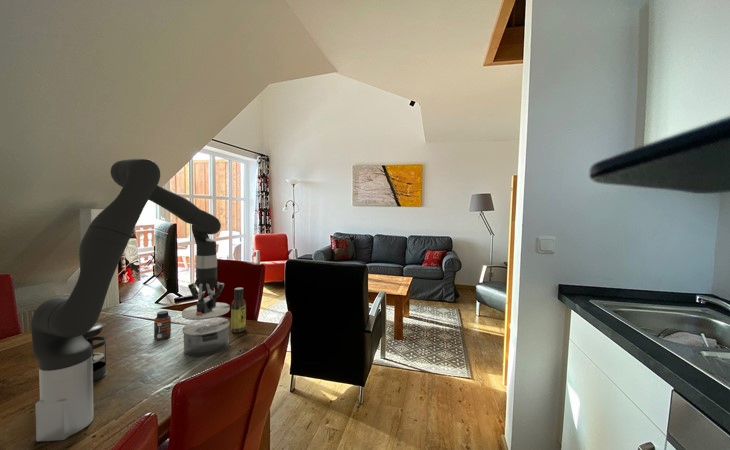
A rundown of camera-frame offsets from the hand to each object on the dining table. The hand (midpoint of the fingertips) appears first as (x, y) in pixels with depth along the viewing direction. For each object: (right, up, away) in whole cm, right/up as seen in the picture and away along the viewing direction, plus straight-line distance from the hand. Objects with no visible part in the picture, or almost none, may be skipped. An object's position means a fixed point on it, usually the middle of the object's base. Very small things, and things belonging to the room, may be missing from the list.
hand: (206, 307), depth 114 cm
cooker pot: (0, -16, +1) cm, 16 cm away
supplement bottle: (-24, -16, +8) cm, 30 cm away
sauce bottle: (+5, -16, +17) cm, 24 cm away
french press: (-27, -17, -22) cm, 39 cm away
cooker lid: (0, -2, 0) cm, 2 cm away
